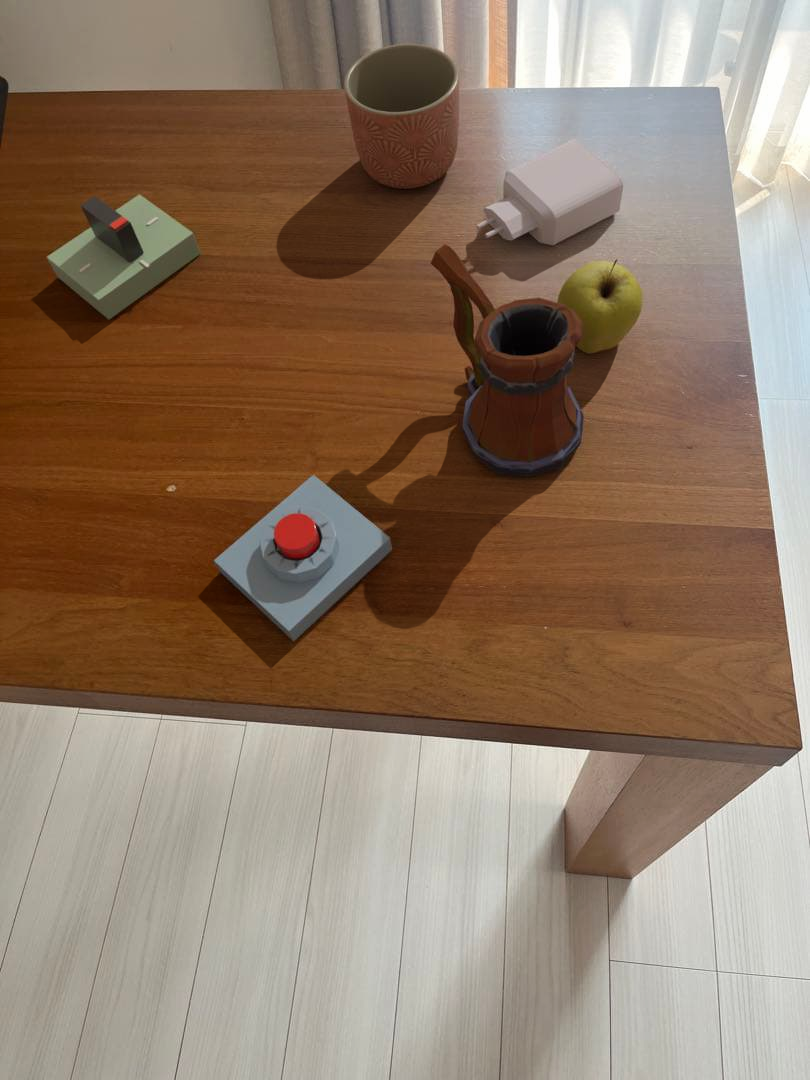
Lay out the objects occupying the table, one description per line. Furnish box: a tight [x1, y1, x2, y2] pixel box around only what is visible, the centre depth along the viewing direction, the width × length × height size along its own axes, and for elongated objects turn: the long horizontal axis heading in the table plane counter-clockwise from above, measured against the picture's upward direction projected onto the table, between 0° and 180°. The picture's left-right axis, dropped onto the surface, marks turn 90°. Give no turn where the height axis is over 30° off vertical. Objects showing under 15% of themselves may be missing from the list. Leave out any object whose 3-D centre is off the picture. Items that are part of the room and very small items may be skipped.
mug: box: [430, 244, 585, 478], centre depth 79 cm, size 18×12×15 cm, turn 35°
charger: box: [476, 139, 624, 246], centre depth 96 cm, size 5×9×15 cm
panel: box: [46, 194, 201, 320], centre depth 98 cm, size 13×11×3 cm
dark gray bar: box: [80, 195, 144, 263], centre depth 95 cm, size 6×2×4 cm, turn 46°
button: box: [274, 513, 319, 559], centre depth 75 cm, size 4×4×2 cm
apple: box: [556, 258, 644, 354], centre depth 85 cm, size 8×8×10 cm
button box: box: [213, 474, 393, 642], centre depth 77 cm, size 12×10×4 cm
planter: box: [343, 43, 460, 190], centre depth 99 cm, size 12×12×11 cm
